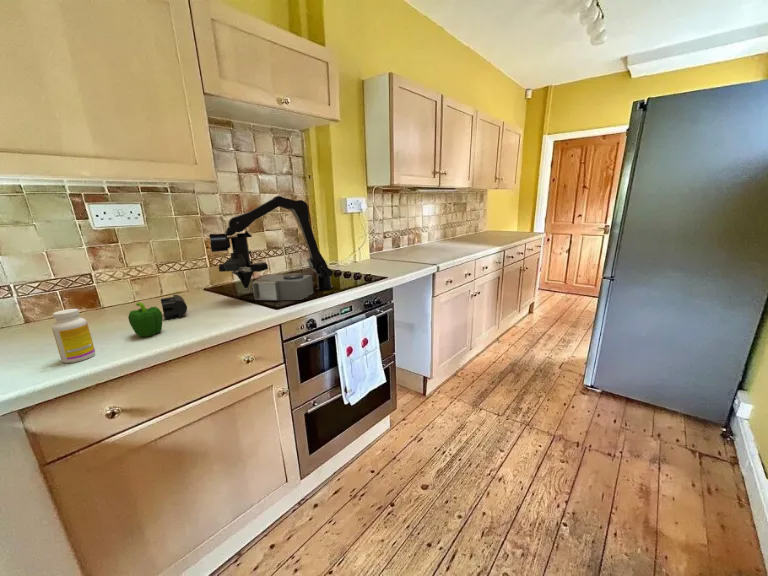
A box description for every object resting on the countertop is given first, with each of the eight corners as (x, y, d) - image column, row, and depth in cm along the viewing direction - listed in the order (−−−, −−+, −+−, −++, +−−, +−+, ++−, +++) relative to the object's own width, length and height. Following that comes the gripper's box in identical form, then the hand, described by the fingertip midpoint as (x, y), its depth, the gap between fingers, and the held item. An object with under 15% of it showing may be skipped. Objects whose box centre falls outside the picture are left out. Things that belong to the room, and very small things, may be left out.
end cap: (189, 316, 117) (185, 298, 116) (165, 321, 113) (161, 302, 112) (185, 310, 125) (182, 293, 123) (163, 314, 121) (160, 296, 119)
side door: (257, 298, 135) (255, 281, 133) (279, 299, 133) (277, 281, 131) (253, 300, 132) (251, 282, 131) (275, 300, 130) (273, 283, 128)
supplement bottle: (102, 353, 89) (90, 307, 85) (74, 364, 82) (60, 316, 79) (84, 351, 90) (71, 306, 87) (55, 362, 84) (40, 314, 81)
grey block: (272, 292, 147) (269, 272, 145) (313, 293, 143) (311, 272, 140) (256, 299, 136) (253, 278, 134) (300, 301, 131) (298, 278, 129)
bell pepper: (168, 333, 101) (161, 302, 99) (135, 341, 96) (128, 309, 93) (162, 327, 107) (156, 297, 105) (131, 334, 102) (123, 303, 99)
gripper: (205, 252, 124) (212, 292, 128) (248, 252, 120) (254, 293, 124) (225, 248, 135) (231, 285, 138) (266, 248, 130) (271, 286, 134)
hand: (246, 287), depth 133 cm, fingers closed
